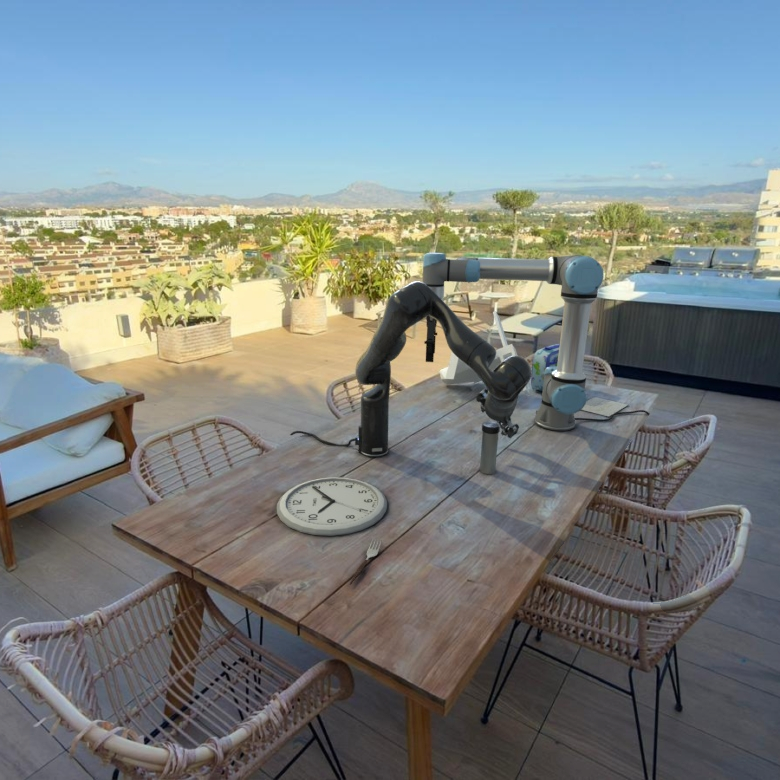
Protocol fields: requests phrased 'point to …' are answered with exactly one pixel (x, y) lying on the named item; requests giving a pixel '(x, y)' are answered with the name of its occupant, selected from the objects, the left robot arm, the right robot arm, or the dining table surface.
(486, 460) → the jar
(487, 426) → the lid
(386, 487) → the dining table surface
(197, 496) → the dining table surface
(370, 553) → the fork
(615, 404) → the invitation card
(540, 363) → the lunch box
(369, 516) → the wall clock
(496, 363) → the white plastic object
